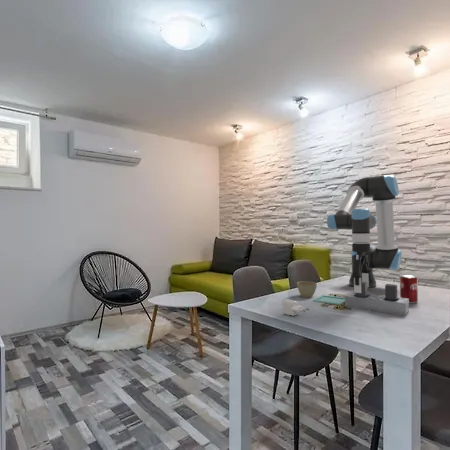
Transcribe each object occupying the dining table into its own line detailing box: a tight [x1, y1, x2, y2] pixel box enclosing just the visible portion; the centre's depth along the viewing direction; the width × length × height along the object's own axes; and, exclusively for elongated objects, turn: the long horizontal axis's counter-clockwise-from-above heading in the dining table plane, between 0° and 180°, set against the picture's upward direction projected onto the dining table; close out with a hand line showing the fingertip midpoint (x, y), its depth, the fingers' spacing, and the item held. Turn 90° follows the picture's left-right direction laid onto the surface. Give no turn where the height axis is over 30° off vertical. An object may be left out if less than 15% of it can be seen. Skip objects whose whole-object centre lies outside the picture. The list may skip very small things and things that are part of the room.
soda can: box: [399, 274, 419, 304], centre depth 151 cm, size 7×7×12 cm
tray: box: [312, 294, 345, 306], centre depth 155 cm, size 13×13×1 cm
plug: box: [356, 282, 368, 298], centre depth 143 cm, size 4×4×10 cm
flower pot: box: [296, 281, 318, 298], centre depth 164 cm, size 10×10×7 cm
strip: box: [344, 283, 410, 317], centre depth 144 cm, size 20×24×11 cm
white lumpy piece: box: [281, 299, 310, 317], centre depth 131 cm, size 11×5×6 cm, turn 43°
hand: (361, 289), depth 143 cm, fingers open, 13 cm apart
